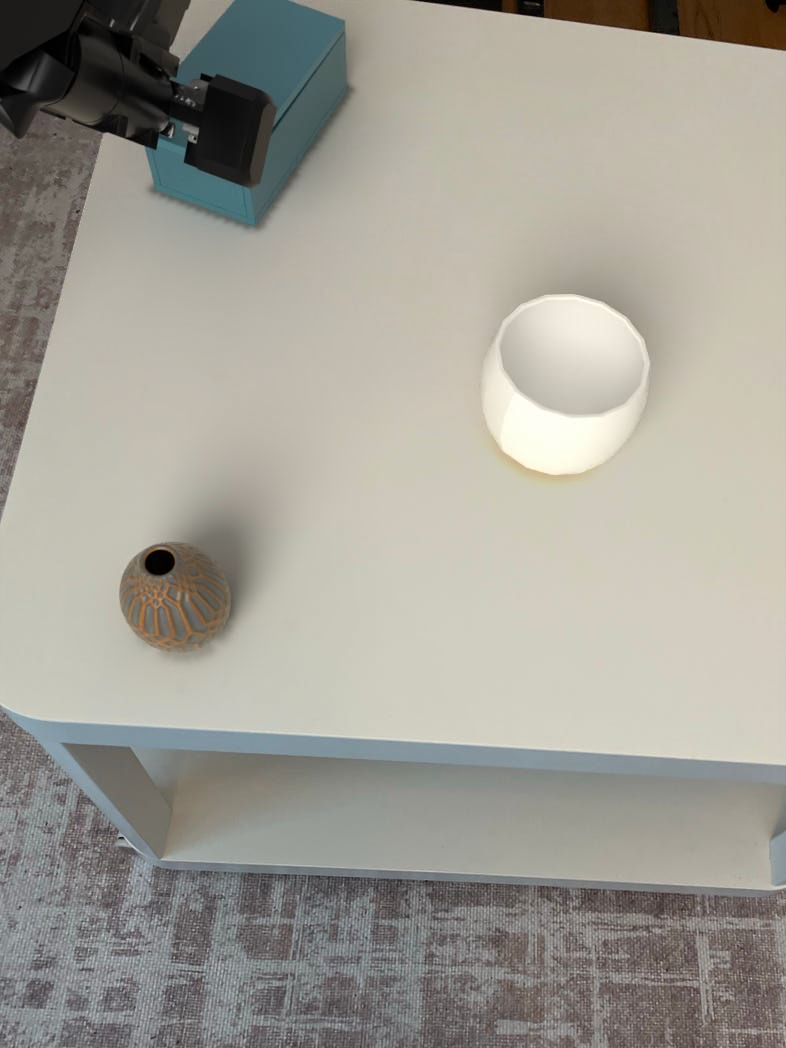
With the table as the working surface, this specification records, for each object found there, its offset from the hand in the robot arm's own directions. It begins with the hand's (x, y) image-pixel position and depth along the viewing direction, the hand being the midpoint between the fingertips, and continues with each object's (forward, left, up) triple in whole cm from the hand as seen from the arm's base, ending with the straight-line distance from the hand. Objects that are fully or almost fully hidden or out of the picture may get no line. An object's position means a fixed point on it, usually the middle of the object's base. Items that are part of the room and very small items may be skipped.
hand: (195, 123), depth 72 cm
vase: (+3, -40, -7) cm, 41 cm away
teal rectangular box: (+3, +8, -7) cm, 11 cm away
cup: (+29, -22, -7) cm, 37 cm away
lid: (+3, +8, -1) cm, 8 cm away
